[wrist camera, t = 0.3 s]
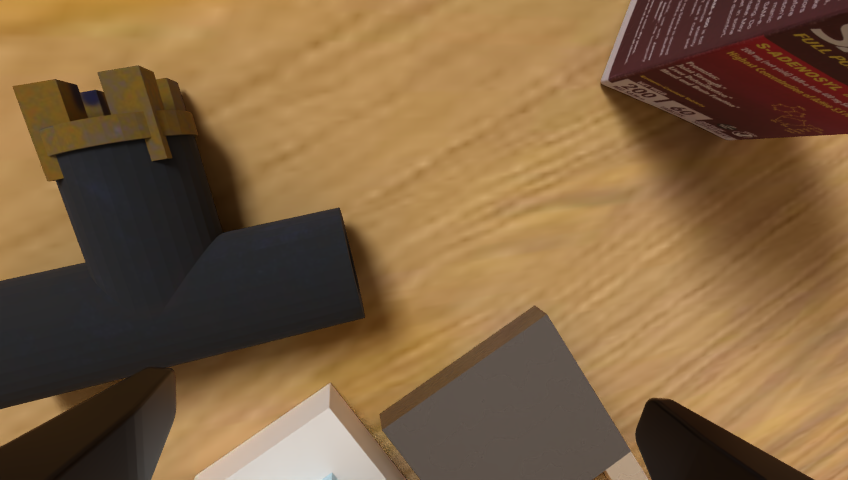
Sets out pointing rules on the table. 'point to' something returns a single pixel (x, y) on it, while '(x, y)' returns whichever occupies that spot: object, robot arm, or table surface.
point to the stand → (308, 447)
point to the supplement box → (738, 64)
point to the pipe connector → (153, 249)
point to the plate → (510, 415)
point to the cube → (330, 477)
